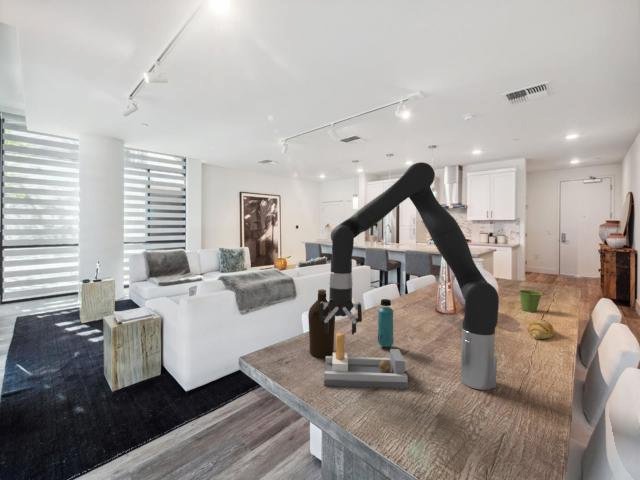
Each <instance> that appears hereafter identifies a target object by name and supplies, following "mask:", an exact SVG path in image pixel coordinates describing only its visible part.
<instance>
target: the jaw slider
mask: <svg viewBox="0 0 640 480" xmlns="http://www.w3.org/2000/svg"><path fill="white" fill-rule="evenodd" d="M345 336H346V335H345V333H342V332H337V333H336V334H335V352H334V351H333V354H332V356H333V360H332V371H337V372H348V359H347V357H348V352H346V350H345V347H346V346H345V344H346V342H345V341H346V337H345Z"/></svg>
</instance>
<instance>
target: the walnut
mask: <svg viewBox="0 0 640 480" xmlns="http://www.w3.org/2000/svg"><path fill="white" fill-rule="evenodd" d="M379 369H380V370H381V371H382V372H384V373H387V372H389V371H390V369H391V364H390V362H389V361H387V360H382V361H380V363H379Z"/></svg>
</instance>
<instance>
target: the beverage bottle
mask: <svg viewBox="0 0 640 480" xmlns="http://www.w3.org/2000/svg"><path fill="white" fill-rule="evenodd" d="M380 305H381V307H379V308H378V309H377V312H378V313H377V317H378V318H377V344H378V345H379V346H381V347H384V348H385V347H386V348H387V347H388V348H389V347H393V344H394V335H395V334H394V310H393V309H392V307H390V306H391V305H392V302H391V300H390V299H388V298H383V299H381V300H380Z"/></svg>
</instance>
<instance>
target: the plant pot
mask: <svg viewBox="0 0 640 480" xmlns="http://www.w3.org/2000/svg"><path fill="white" fill-rule="evenodd" d="M518 292H519V296H520V306H521V310H522V311H525V312H527V313H536V312H537V311H538V308H539V304H540V299H541V298H542V295H543V293H542V292H540V291H535V290H529V289H528V290H527V289H520V290H518Z"/></svg>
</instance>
